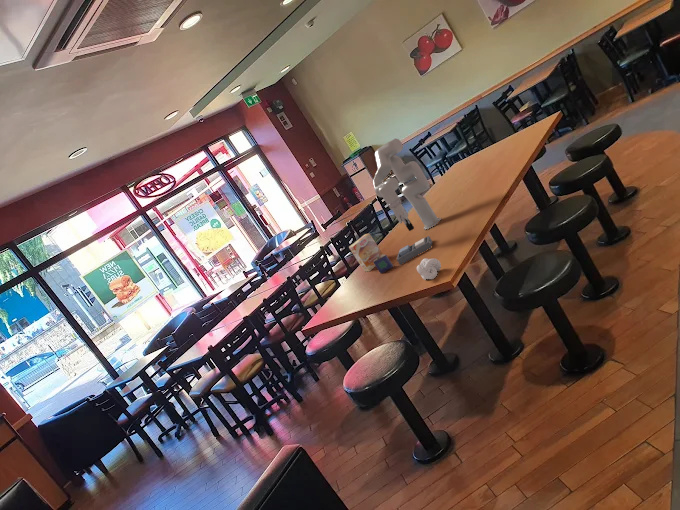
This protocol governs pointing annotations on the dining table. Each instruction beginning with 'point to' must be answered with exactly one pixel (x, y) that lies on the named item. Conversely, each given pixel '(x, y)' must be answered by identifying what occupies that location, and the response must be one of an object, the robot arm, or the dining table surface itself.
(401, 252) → the blue key
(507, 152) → the dining table surface
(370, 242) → the coffeecake box
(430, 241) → the key panel
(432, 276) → the white rounded lump
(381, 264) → the dark blue boxy piece
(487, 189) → the dining table surface
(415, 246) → the white key
